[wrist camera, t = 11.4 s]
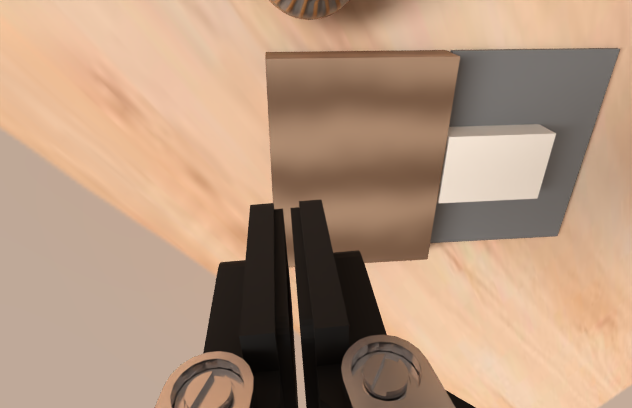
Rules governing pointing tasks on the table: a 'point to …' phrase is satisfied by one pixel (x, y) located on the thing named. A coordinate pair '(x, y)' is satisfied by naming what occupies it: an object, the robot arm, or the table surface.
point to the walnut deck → (361, 144)
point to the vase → (309, 7)
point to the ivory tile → (494, 162)
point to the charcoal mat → (519, 109)
